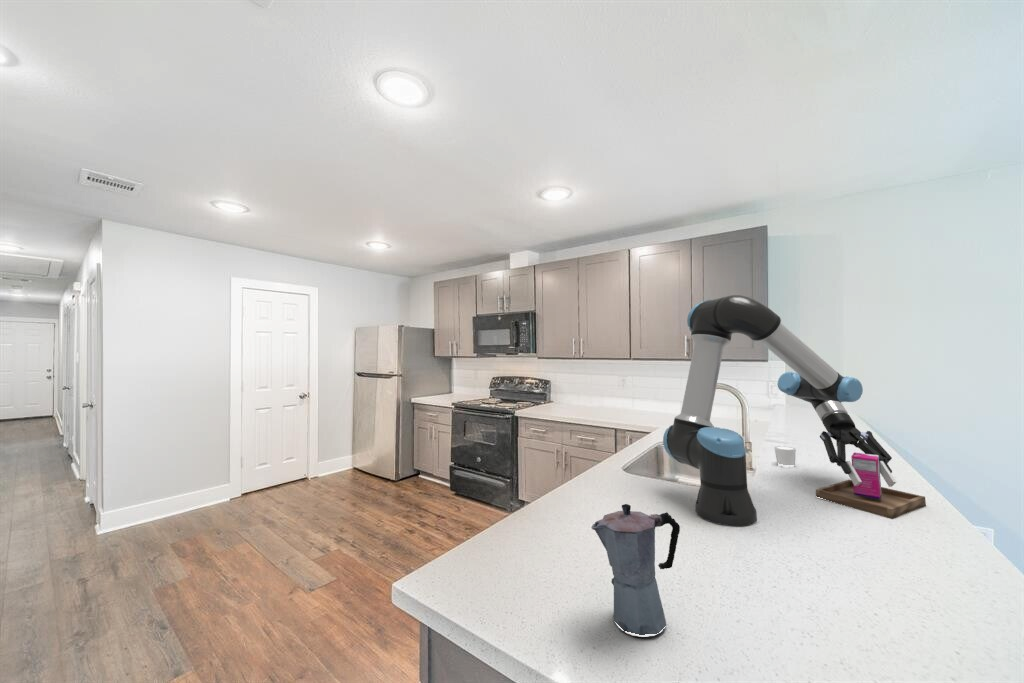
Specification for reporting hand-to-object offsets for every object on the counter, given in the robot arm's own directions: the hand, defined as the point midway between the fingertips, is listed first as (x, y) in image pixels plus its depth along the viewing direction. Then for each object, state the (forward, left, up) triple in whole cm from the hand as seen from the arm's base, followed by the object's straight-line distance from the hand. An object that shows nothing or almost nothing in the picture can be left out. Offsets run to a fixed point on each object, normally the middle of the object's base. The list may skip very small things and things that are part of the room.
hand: (875, 484), depth 111 cm
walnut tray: (+2, +3, -6) cm, 7 cm away
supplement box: (+2, +3, -4) cm, 6 cm away
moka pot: (-92, -7, -6) cm, 92 cm away
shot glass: (+19, +36, -6) cm, 41 cm away
